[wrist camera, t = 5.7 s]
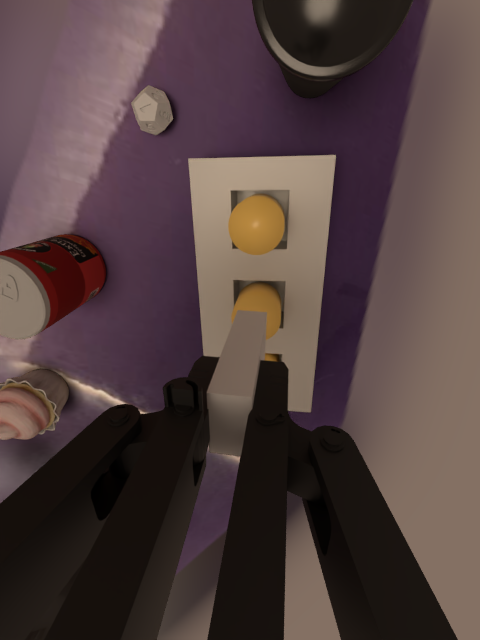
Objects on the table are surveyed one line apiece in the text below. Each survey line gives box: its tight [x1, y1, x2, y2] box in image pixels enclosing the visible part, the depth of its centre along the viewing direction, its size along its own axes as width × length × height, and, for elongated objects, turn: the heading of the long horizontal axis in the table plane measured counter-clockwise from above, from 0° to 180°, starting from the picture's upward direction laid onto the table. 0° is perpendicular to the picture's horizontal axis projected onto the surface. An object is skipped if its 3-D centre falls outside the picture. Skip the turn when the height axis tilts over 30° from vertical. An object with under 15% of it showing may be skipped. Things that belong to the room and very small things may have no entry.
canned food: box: [0, 234, 106, 339], centre depth 33 cm, size 8×8×11 cm
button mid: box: [231, 282, 281, 340], centre depth 30 cm, size 4×4×4 cm
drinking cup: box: [252, 0, 413, 98], centre depth 18 cm, size 8×8×20 cm
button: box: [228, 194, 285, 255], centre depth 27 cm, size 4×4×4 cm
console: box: [188, 155, 336, 412], centre depth 34 cm, size 26×12×5 cm, turn 1°
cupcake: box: [0, 369, 69, 440], centre depth 42 cm, size 9×9×10 cm
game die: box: [131, 85, 173, 135], centre depth 29 cm, size 4×4×3 cm
